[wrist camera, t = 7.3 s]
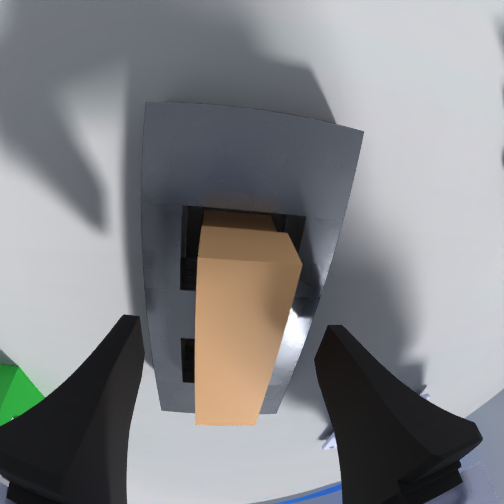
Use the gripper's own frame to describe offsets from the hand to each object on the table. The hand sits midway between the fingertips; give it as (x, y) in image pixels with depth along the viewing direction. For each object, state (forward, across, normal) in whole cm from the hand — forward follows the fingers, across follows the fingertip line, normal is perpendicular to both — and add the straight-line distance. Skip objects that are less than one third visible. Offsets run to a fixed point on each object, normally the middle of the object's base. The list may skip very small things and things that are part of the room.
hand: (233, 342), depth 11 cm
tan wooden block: (+4, 0, 0) cm, 4 cm away
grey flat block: (+4, 0, 0) cm, 4 cm away
